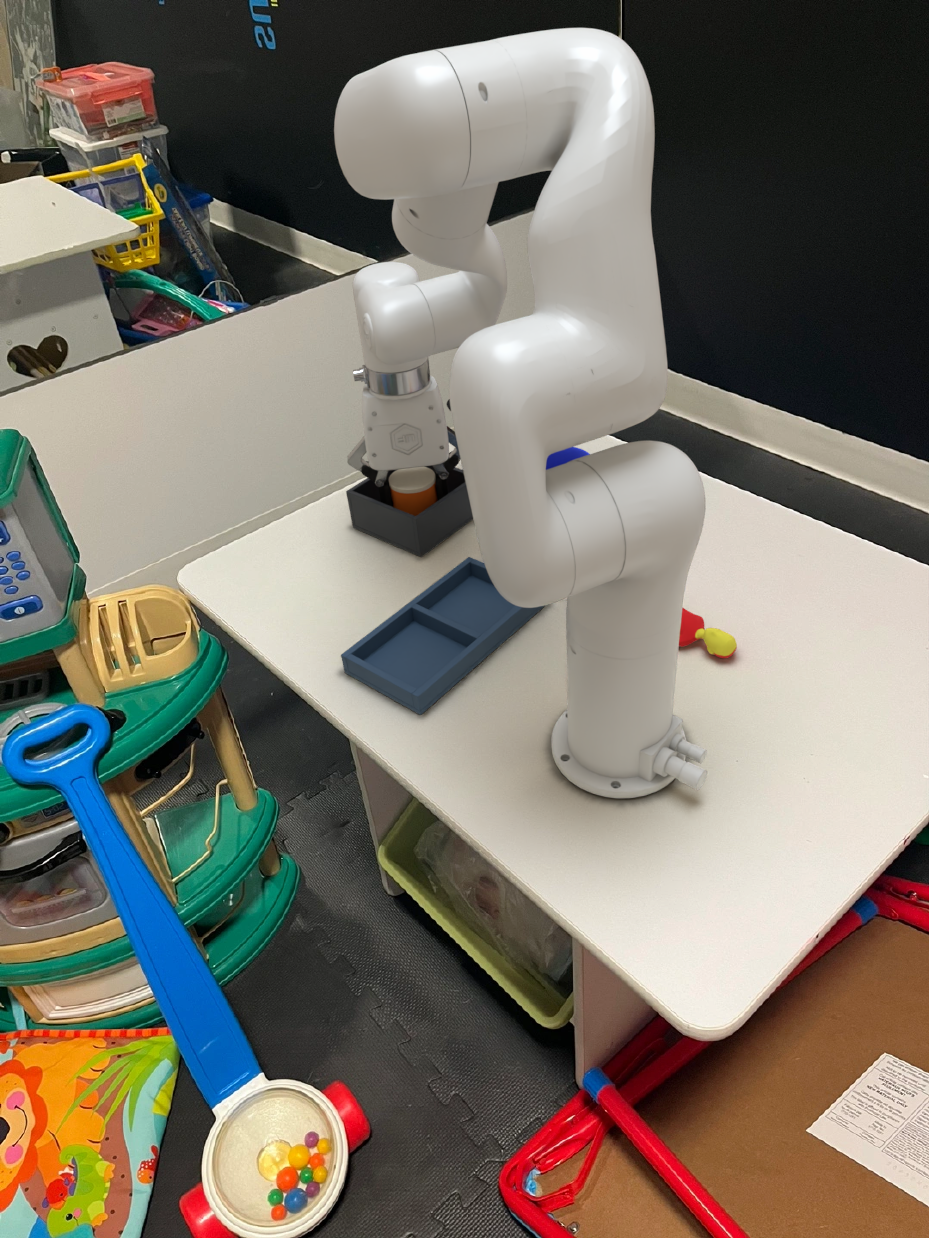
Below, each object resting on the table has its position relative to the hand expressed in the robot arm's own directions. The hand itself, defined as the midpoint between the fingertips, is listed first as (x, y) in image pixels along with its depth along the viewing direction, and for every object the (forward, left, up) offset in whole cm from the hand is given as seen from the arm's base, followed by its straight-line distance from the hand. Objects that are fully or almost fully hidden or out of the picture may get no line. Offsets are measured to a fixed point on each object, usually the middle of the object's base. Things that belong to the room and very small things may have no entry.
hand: (415, 503), depth 119 cm
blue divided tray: (-19, +16, -3) cm, 25 cm away
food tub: (0, 0, -2) cm, 2 cm away
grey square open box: (0, 0, -3) cm, 3 cm away
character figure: (-36, +1, -3) cm, 36 cm away
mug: (-19, -9, -3) cm, 21 cm away
